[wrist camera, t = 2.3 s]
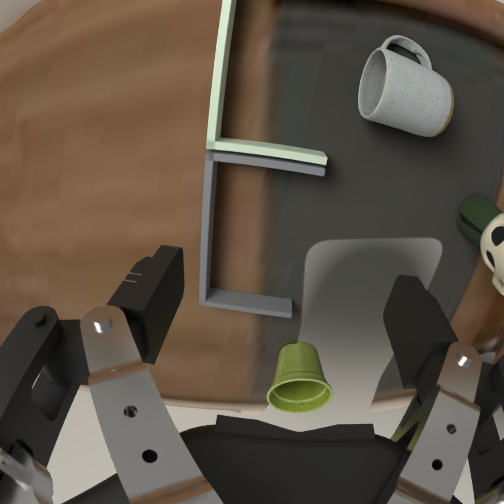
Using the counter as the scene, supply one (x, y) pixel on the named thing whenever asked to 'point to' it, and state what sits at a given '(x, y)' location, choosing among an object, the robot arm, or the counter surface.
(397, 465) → the robot arm
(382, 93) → the ceramic mug
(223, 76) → the corral green
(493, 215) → the character mug
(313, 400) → the plant pot
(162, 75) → the counter surface
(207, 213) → the corral charcoal
